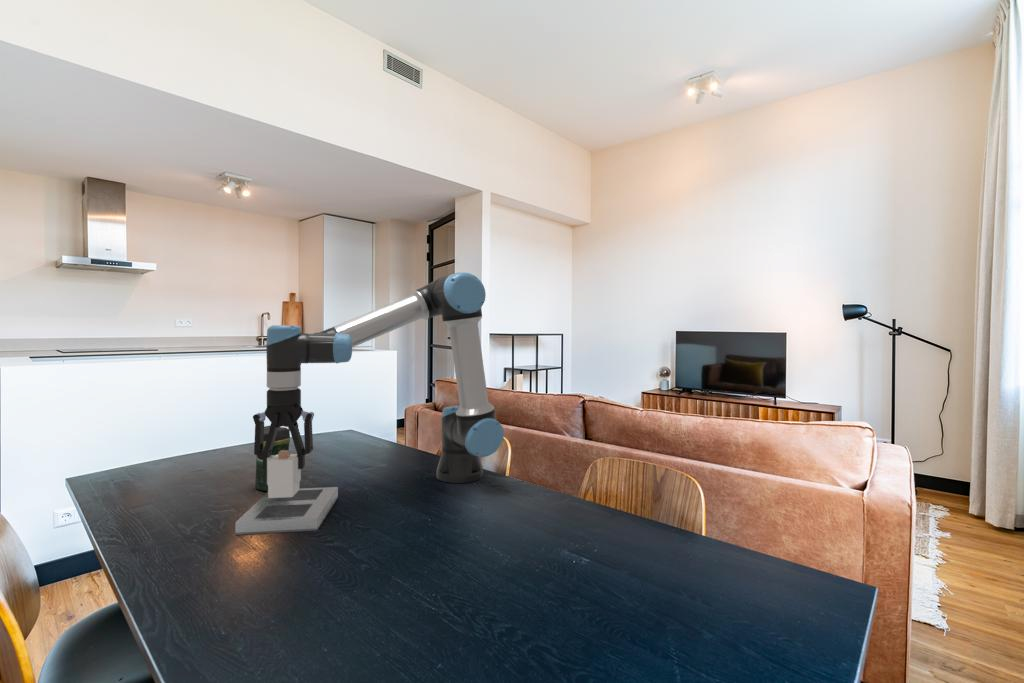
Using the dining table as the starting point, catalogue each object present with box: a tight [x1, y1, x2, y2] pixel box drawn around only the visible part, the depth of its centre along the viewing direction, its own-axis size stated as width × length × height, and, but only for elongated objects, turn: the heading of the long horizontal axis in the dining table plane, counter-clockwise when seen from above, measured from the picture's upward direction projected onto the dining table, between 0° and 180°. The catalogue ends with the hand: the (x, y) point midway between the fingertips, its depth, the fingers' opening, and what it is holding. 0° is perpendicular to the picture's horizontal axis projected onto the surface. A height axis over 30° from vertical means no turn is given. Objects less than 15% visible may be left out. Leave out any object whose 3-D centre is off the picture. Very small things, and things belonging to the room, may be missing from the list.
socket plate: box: [235, 486, 339, 536], centre depth 120 cm, size 18×22×3 cm
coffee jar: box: [254, 425, 291, 492], centre depth 140 cm, size 10×8×19 cm
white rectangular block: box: [267, 449, 300, 498], centre depth 114 cm, size 6×6×10 cm
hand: (284, 482), depth 114 cm, fingers closed on white rectangular block, 5 cm apart
